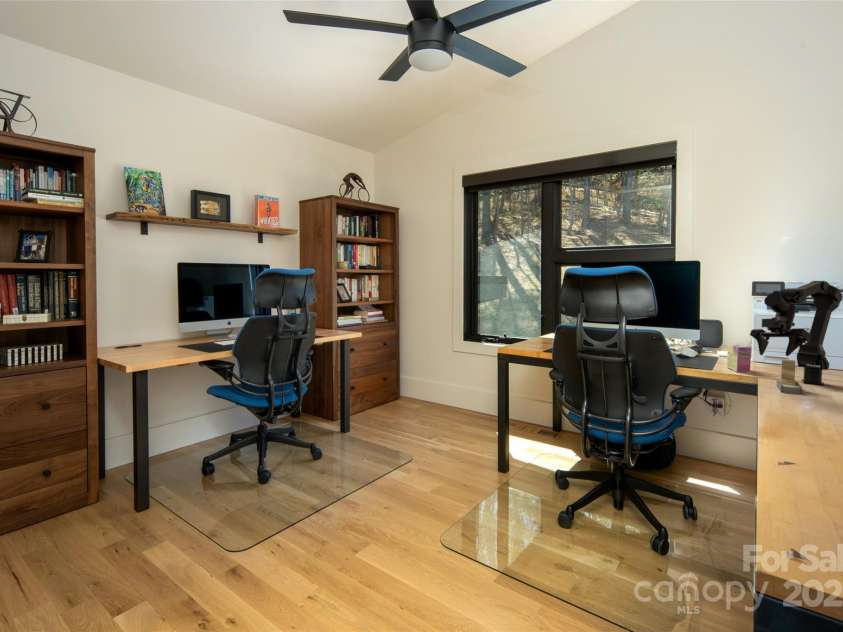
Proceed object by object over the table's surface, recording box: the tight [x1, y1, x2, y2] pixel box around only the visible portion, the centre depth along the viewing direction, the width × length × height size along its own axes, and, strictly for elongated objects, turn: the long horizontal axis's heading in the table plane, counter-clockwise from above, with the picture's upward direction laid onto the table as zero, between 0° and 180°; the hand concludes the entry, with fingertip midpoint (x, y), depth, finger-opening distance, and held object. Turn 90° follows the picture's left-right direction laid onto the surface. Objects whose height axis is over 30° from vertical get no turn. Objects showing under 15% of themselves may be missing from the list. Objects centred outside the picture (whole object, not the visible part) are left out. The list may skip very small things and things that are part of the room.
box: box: [726, 343, 752, 373], centre depth 216 cm, size 10×6×12 cm, turn 168°
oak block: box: [780, 359, 796, 385], centre depth 179 cm, size 4×4×9 cm
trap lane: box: [776, 378, 803, 395], centre depth 177 cm, size 12×6×3 cm, turn 149°
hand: (773, 355), depth 174 cm, fingers open, 9 cm apart
